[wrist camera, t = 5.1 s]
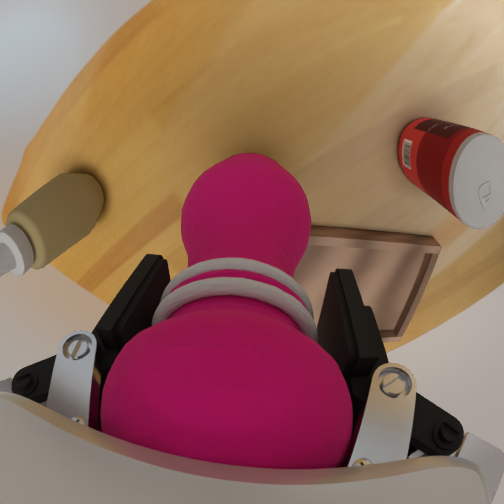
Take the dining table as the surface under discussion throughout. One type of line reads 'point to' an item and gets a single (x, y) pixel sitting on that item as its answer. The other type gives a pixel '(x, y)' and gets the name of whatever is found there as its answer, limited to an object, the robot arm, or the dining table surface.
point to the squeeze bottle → (50, 222)
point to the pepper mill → (235, 337)
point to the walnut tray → (371, 271)
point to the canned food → (456, 168)
